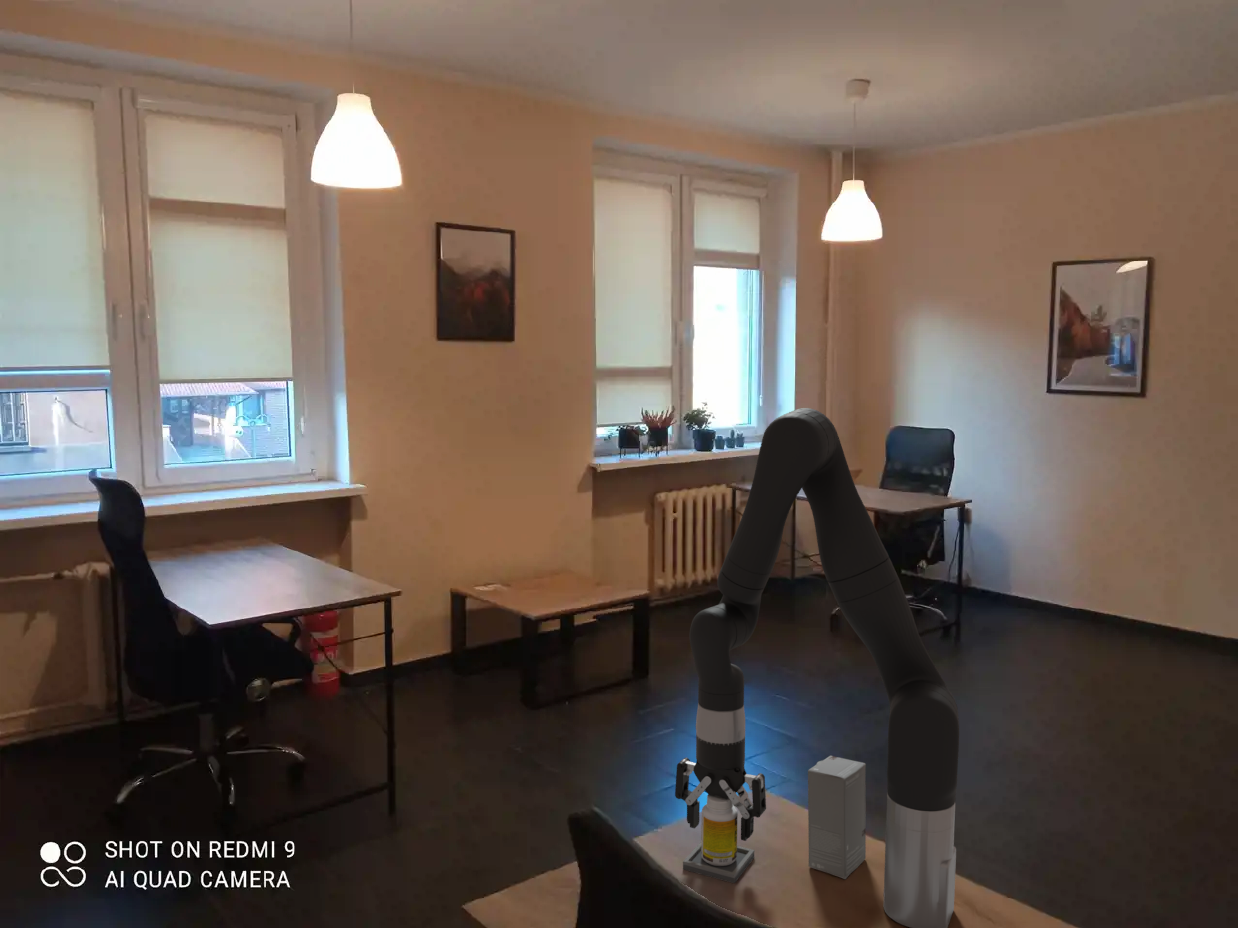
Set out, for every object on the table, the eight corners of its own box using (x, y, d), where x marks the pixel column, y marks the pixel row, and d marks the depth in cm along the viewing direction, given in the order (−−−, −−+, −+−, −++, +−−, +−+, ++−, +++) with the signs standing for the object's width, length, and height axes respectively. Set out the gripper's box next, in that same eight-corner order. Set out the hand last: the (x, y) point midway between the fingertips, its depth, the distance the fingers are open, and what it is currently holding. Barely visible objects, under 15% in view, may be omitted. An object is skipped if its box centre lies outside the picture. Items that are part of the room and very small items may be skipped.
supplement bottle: (740, 866, 149) (741, 803, 148) (704, 868, 149) (705, 805, 148) (732, 848, 155) (733, 787, 154) (698, 850, 154) (698, 788, 153)
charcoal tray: (754, 857, 154) (754, 849, 154) (734, 883, 146) (734, 874, 146) (704, 844, 158) (704, 837, 158) (683, 869, 150) (683, 861, 150)
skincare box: (845, 881, 147) (848, 781, 145) (802, 866, 151) (804, 768, 149) (868, 858, 154) (871, 762, 152) (826, 844, 158) (828, 751, 156)
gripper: (772, 732, 150) (771, 832, 151) (688, 715, 156) (687, 812, 158) (755, 749, 143) (754, 853, 145) (668, 731, 150) (667, 831, 152)
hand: (719, 831), depth 151 cm, fingers open, 8 cm apart
